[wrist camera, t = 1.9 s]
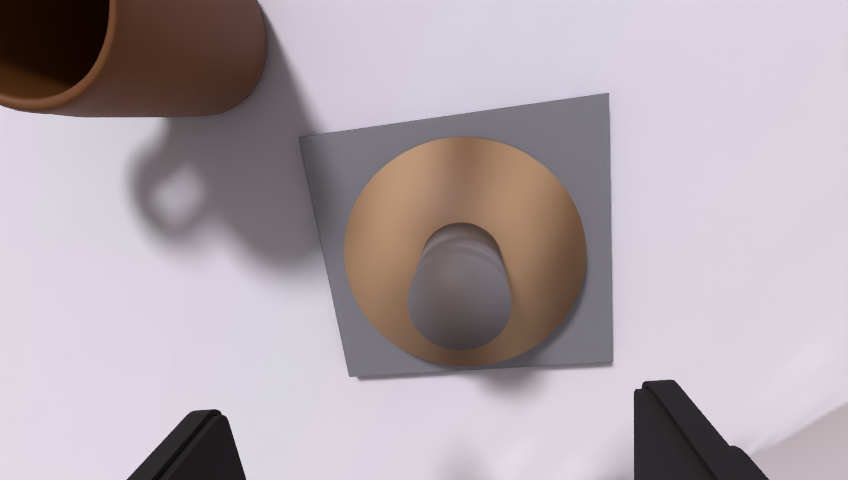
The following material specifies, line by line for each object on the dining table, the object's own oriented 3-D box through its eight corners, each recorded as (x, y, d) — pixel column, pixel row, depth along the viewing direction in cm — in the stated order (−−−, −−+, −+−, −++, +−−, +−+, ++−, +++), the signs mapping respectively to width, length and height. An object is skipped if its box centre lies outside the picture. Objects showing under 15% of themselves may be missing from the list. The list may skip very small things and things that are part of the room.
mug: (108, 162, 23) (-117, 190, 14) (34, 21, 22) (-275, -47, 13) (296, 88, 21) (169, 67, 12) (232, -77, 19) (26, -243, 10)
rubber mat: (603, 93, 20) (608, 92, 19) (608, 353, 23) (612, 361, 23) (304, 136, 22) (298, 137, 21) (352, 369, 26) (349, 376, 25)
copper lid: (575, 120, 19) (621, 121, 14) (583, 347, 23) (623, 428, 17) (330, 153, 21) (276, 168, 15) (370, 360, 24) (339, 438, 18)
